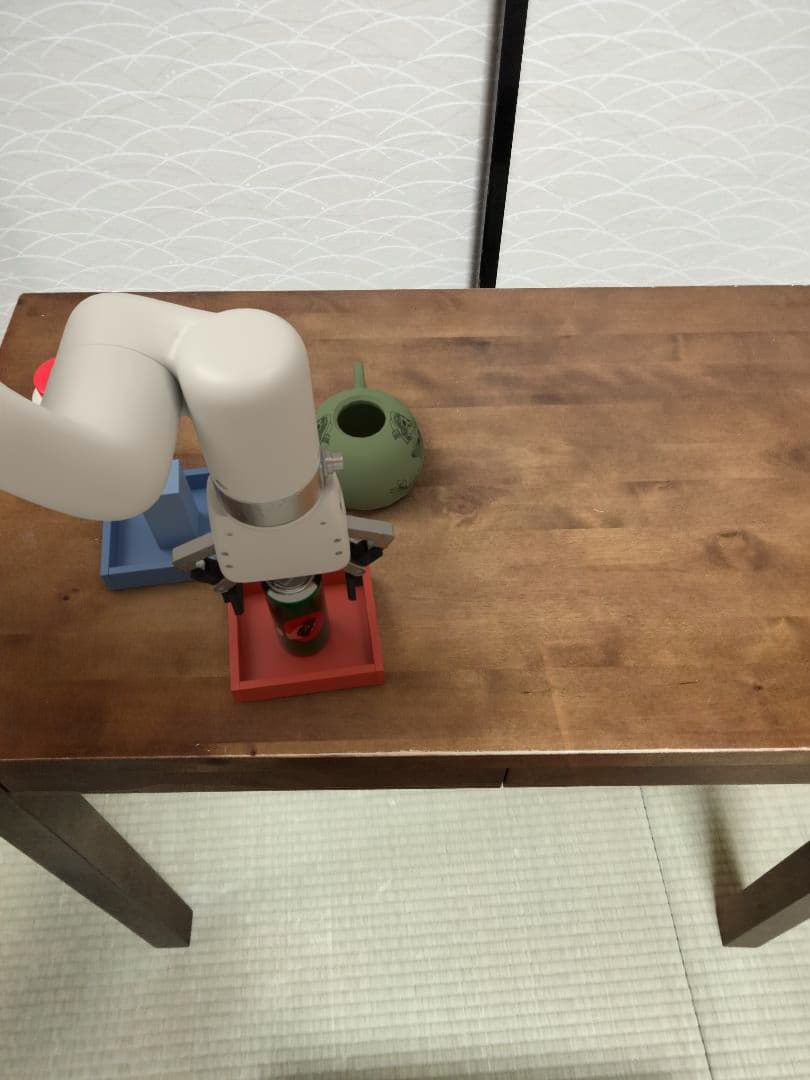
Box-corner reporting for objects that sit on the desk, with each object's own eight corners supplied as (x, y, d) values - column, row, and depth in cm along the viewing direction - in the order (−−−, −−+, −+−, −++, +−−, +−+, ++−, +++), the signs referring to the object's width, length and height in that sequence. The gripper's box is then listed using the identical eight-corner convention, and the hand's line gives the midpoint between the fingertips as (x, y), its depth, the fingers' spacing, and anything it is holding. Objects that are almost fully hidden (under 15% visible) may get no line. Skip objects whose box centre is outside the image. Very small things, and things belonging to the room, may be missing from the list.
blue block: (159, 549, 82) (134, 497, 75) (160, 516, 84) (136, 463, 77) (199, 544, 83) (178, 492, 75) (199, 512, 85) (178, 458, 77)
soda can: (341, 626, 78) (332, 562, 68) (310, 667, 75) (296, 608, 65) (298, 601, 79) (283, 534, 69) (266, 641, 77) (246, 578, 67)
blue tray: (109, 590, 80) (99, 575, 78) (114, 495, 86) (105, 478, 84) (247, 573, 81) (242, 558, 79) (243, 480, 87) (238, 463, 85)
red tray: (236, 703, 74) (230, 691, 72) (232, 592, 80) (226, 577, 78) (384, 683, 75) (384, 670, 73) (369, 575, 81) (368, 559, 79)
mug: (429, 515, 85) (431, 464, 78) (305, 522, 85) (295, 471, 77) (417, 399, 94) (418, 344, 86) (304, 405, 93) (296, 350, 86)
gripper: (386, 419, 59) (388, 544, 73) (141, 445, 57) (194, 568, 72) (400, 504, 55) (400, 619, 69) (138, 535, 53) (194, 645, 68)
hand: (295, 593), depth 70 cm, fingers open, 9 cm apart
